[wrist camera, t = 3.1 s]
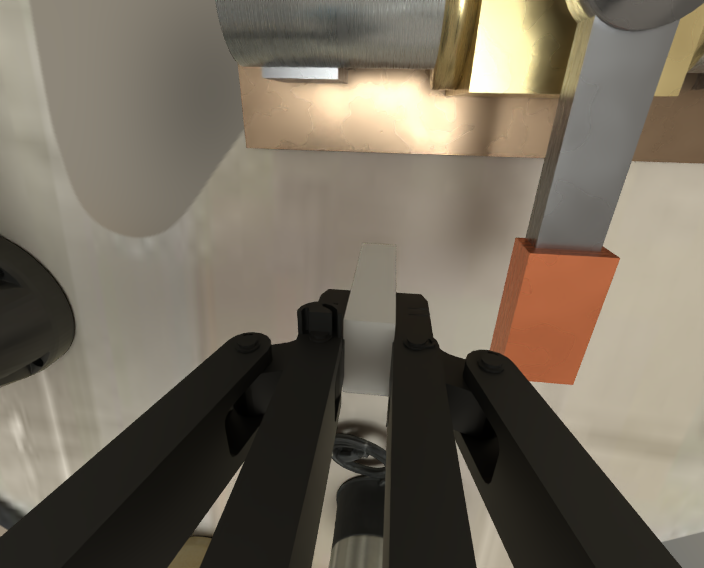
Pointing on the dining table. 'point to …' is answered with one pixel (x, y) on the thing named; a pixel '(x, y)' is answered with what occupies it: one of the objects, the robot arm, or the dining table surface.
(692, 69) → the valve manifold
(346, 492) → the milk frother
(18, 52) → the dining table surface
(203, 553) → the planter bowl
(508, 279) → the valve lever
